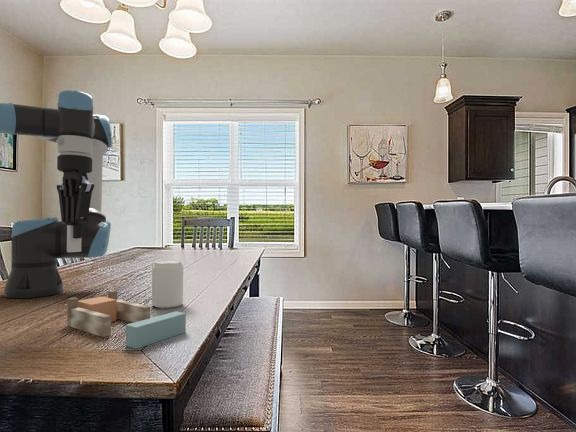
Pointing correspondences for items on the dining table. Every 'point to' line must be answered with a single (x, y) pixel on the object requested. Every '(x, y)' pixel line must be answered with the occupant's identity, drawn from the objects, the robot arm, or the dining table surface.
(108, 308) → the block
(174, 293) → the beverage can
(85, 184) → the robot arm
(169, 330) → the stop block
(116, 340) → the dining table surface
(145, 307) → the parallel beige rails
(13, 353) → the dining table surface
